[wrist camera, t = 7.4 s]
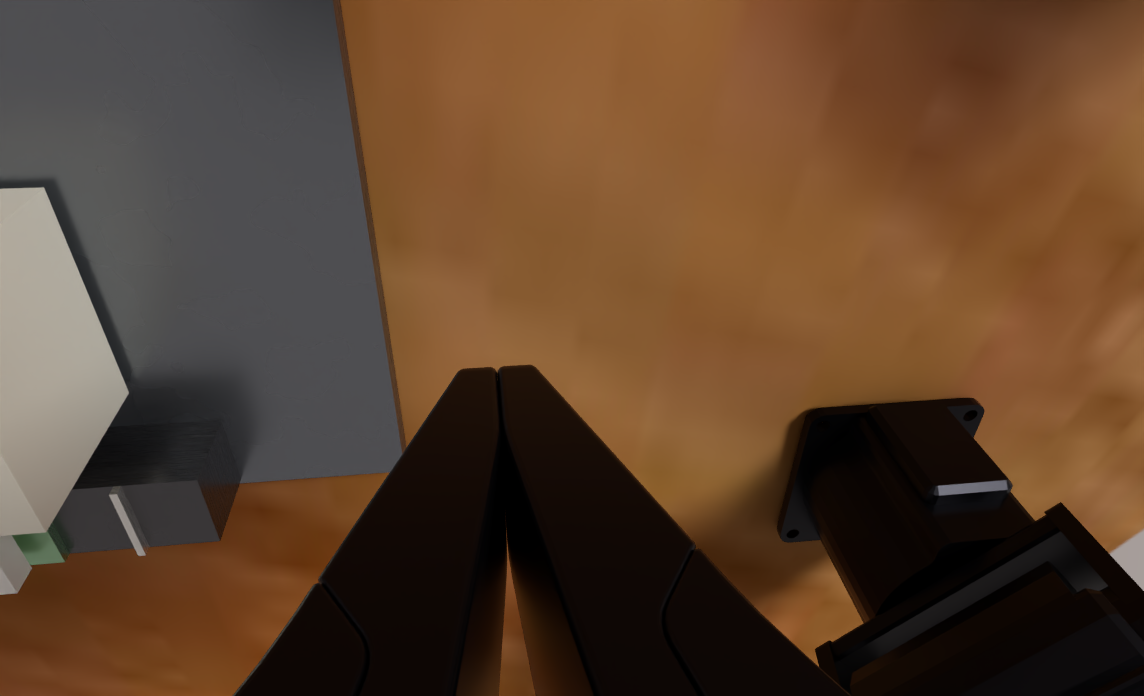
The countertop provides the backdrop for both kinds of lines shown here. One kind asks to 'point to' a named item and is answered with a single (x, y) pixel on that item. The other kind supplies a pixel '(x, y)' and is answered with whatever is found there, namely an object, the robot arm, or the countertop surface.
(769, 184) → the countertop surface
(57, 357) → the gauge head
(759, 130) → the countertop surface
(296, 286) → the gauge bench
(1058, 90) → the countertop surface
